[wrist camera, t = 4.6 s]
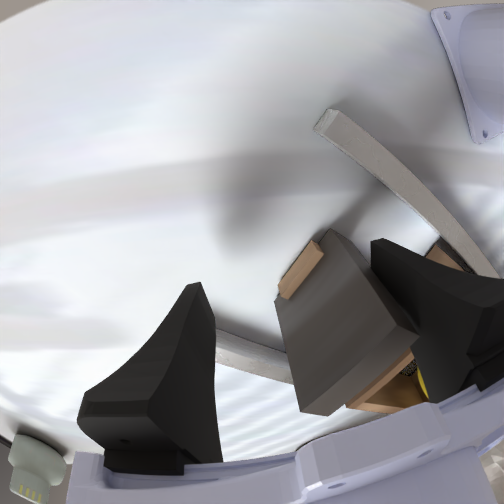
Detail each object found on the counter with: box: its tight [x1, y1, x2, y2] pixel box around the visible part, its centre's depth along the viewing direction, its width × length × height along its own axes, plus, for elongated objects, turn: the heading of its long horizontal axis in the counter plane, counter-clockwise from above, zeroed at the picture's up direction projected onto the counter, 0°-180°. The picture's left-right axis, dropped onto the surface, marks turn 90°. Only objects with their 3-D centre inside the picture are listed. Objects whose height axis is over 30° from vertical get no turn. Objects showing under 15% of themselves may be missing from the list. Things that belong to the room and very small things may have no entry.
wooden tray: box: [274, 229, 465, 416], centre depth 15 cm, size 18×11×7 cm, turn 58°
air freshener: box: [8, 435, 66, 504], centre depth 23 cm, size 11×8×10 cm
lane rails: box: [215, 109, 501, 385], centre depth 18 cm, size 26×14×2 cm, turn 58°
